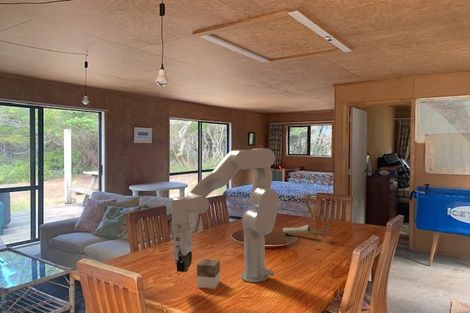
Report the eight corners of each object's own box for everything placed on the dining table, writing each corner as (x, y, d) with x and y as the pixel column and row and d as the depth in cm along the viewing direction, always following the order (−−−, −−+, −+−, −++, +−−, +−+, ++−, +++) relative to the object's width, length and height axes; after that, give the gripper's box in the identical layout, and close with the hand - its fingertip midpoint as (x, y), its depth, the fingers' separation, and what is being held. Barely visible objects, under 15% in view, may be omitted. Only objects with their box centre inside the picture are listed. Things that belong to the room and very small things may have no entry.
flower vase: (289, 244, 242) (337, 241, 220) (280, 243, 233) (328, 239, 212) (289, 227, 246) (335, 223, 224) (279, 225, 237) (326, 220, 216)
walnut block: (219, 271, 156) (219, 260, 156) (214, 277, 148) (214, 266, 148) (202, 269, 157) (202, 259, 157) (197, 276, 150) (196, 264, 150)
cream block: (219, 282, 156) (219, 271, 156) (215, 289, 148) (214, 277, 148) (202, 280, 158) (202, 269, 158) (197, 287, 150) (197, 276, 150)
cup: (174, 269, 149) (173, 251, 149) (192, 267, 151) (191, 249, 150) (175, 275, 142) (174, 256, 142) (193, 273, 143) (192, 254, 143)
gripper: (182, 232, 136) (185, 276, 137) (196, 221, 153) (198, 261, 154) (165, 231, 138) (167, 275, 138) (180, 221, 155) (182, 260, 155)
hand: (183, 267), depth 146 cm, fingers closed on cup, 6 cm apart
